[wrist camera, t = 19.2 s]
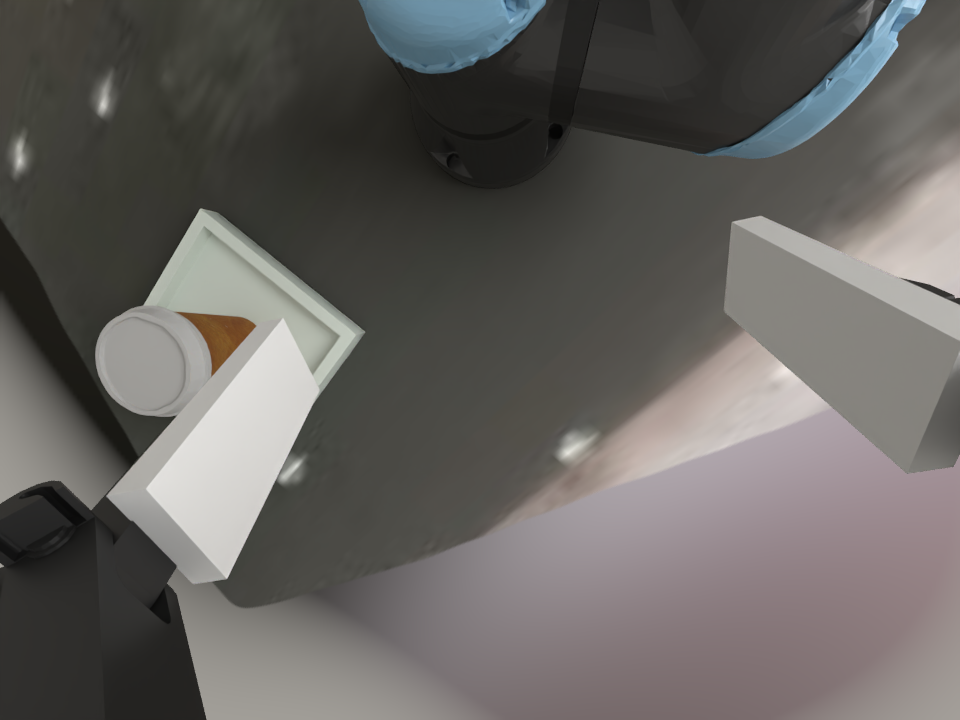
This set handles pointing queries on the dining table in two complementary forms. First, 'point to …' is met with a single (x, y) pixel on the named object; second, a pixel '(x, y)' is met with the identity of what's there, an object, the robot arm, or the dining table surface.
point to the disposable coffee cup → (164, 356)
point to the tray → (253, 292)
